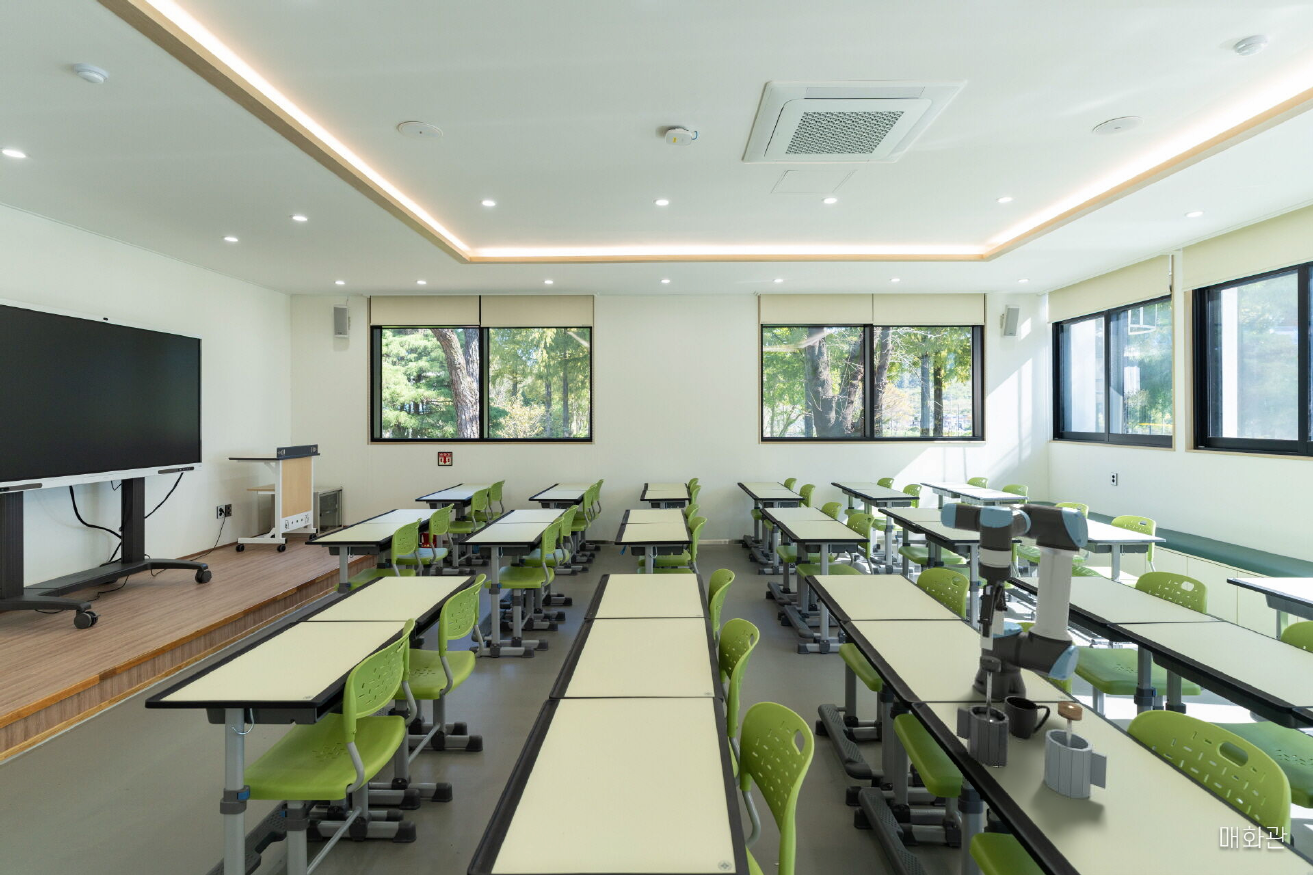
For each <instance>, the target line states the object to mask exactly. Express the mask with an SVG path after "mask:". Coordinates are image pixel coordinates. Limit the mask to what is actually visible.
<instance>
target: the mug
mask: <svg viewBox="0 0 1313 875" xmlns="http://www.w3.org/2000/svg"><path fill="white" fill-rule="evenodd" d="M1003 704H1004V705H1003V706H1004V707H1003V708H1004V710H1003V711H1004V713H1005V714H1006V715H1007V716H1008V718H1009V734H1010V736H1012V737H1014V738H1016V739H1019V740H1026V741H1027V740H1030V739H1031V738H1032V735H1034V734H1036V733H1037V732H1039V731H1040V730H1041V728H1042V727H1043V725H1044V724H1046V723H1047V720H1048V719H1049V718H1050V715H1051V709H1050V707H1049V706H1048V705H1043V704H1039V705H1038V704H1036V703H1035V702H1034V701H1032V700H1031V699H1028V698H1022V697H1017V696H1008V697H1006V698H1005V701H1004V703H1003ZM1041 709H1046V712H1045V714H1044V716H1043V717H1042V718H1041V720H1040V721H1039V722H1038V724H1037V721H1038V714H1039V713H1038V712H1039V710H1041Z"/></svg>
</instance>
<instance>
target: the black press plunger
mask: <svg viewBox="0 0 1313 875" xmlns="http://www.w3.org/2000/svg"><path fill="white" fill-rule="evenodd" d="M978 663H979V666H978V667H980V668H981V669H983V670H985V671H988V675H987V695H986V705H985V706H986V714H983V713H980V714H976V716H978V717H979V718H982V719H985V720H988V721H994V722H1000V721H1001V720H1000V719H998V718H997V717H995V716H992V715H990V714H991V707H992V706H991V705H992V697H991V683H992V672H1000V671H1001V661H1000V660H999V659H997V658H995V657H991V656H981V655H980V656H979V661H978Z"/></svg>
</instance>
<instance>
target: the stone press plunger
mask: <svg viewBox="0 0 1313 875" xmlns="http://www.w3.org/2000/svg"><path fill="white" fill-rule="evenodd" d="M1057 714H1058V716H1060V717H1062V718H1064V719H1066V731H1067V735H1066V746H1067V747H1070V748H1071V733H1073V731H1072V729H1073V728H1072V727H1073V722H1075V721H1076V722H1079V721H1082V720H1083V708H1082V707H1081V706H1080V705H1079V704H1076V703H1075V702H1071V701H1066V700H1065V701H1064V700H1060V701H1058V702H1057Z"/></svg>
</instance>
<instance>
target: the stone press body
mask: <svg viewBox="0 0 1313 875" xmlns="http://www.w3.org/2000/svg"><path fill="white" fill-rule="evenodd" d="M1066 735H1067V730H1066V729H1059V728H1058V729H1056V728H1055V729H1054V728H1053V729H1049V730H1047V731H1046V733H1045V742H1044V743H1045V745H1044V747H1045V748H1044V769H1043V770H1044V771H1043V774H1044V775H1043V781H1044V782H1045V783H1046V785H1047V787H1049V788H1050V789H1052V790H1054V791H1055V792H1057V793H1058V794H1061V795H1064V796H1067V797H1068V798H1073V799H1080V800H1083V799H1087V798H1090V796H1091V793H1092V788H1091V787H1092V785H1093V786H1096V787H1099V788H1101V789H1104V790H1105V789H1106V787H1107V763H1108V754H1105V753H1103V752H1100V751H1096V750H1093V744H1092V742H1090V741H1089V740H1088V739H1087V738H1086V737H1083V736H1081V735H1080V734H1078V733H1076V732H1072V733H1071V748H1070V747H1067V746H1066Z"/></svg>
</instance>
